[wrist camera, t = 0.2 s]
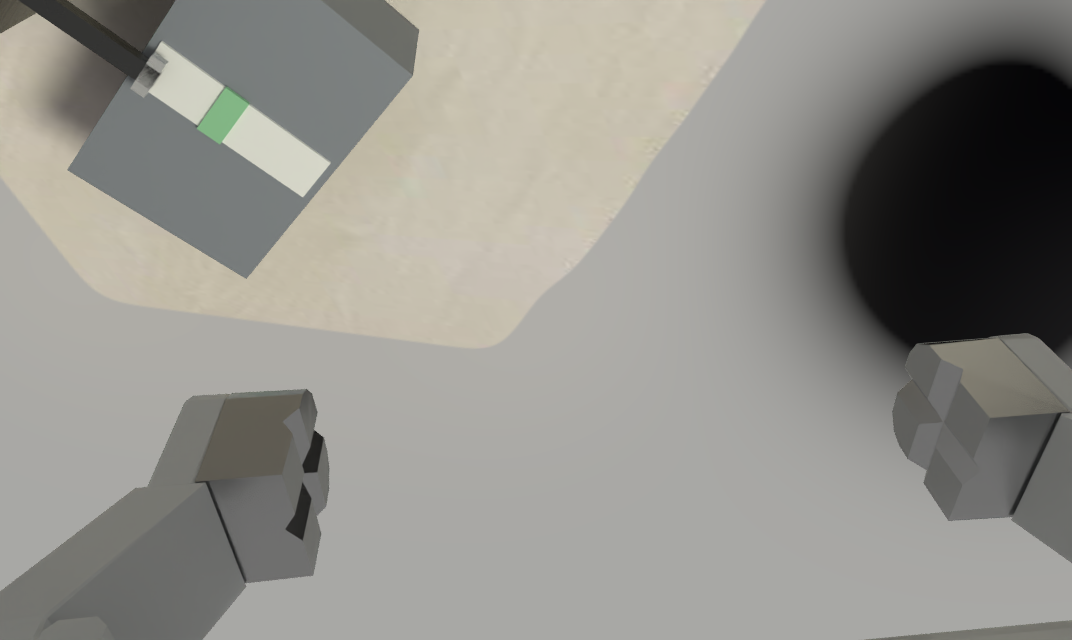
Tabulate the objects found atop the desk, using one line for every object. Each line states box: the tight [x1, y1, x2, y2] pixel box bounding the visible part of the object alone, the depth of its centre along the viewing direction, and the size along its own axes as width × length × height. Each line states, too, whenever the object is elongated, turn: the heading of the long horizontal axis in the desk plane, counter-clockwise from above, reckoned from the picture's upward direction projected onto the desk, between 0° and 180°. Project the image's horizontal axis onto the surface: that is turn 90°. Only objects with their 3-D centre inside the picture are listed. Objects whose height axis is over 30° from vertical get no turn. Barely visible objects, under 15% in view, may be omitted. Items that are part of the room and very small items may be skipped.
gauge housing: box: [68, 0, 419, 279], centre depth 50 cm, size 12×18×10 cm, turn 137°
